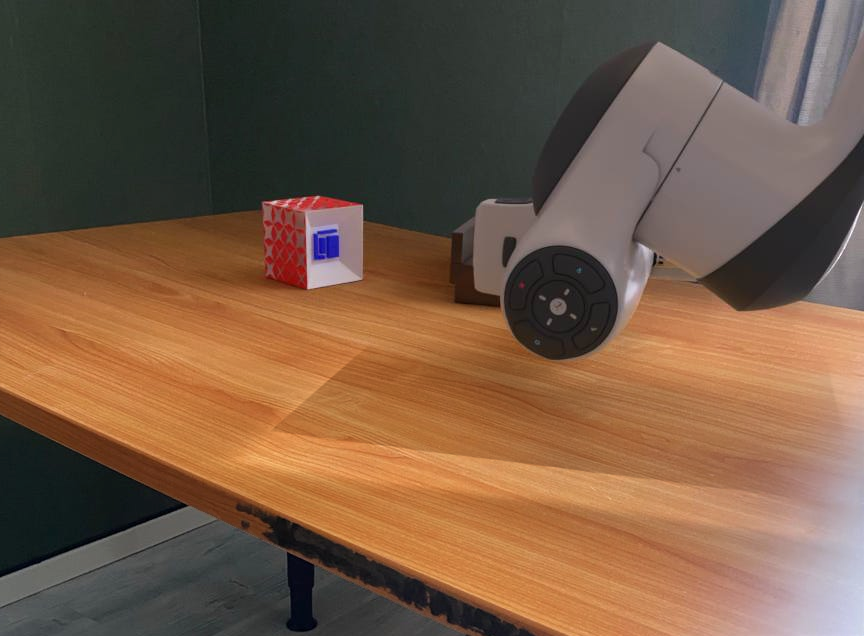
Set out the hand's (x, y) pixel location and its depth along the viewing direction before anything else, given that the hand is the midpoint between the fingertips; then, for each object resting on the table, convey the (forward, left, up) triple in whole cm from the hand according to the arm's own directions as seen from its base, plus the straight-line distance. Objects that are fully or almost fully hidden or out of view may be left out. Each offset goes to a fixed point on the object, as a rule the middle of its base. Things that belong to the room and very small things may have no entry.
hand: (612, 223), depth 83 cm
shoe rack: (+2, -28, -11) cm, 30 cm away
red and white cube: (+25, -30, -11) cm, 41 cm away
